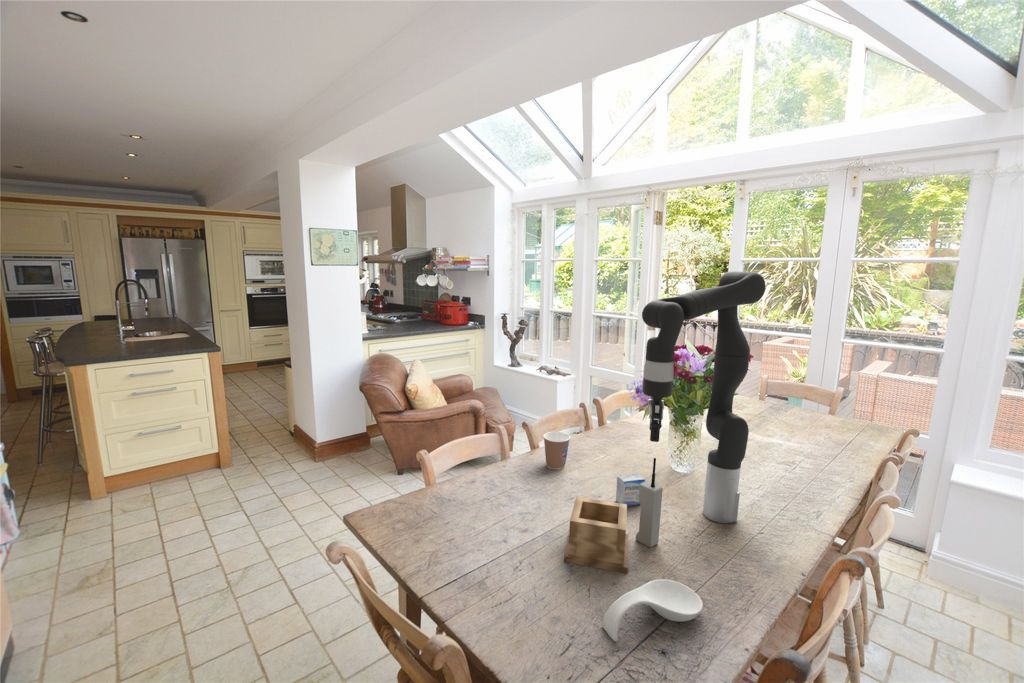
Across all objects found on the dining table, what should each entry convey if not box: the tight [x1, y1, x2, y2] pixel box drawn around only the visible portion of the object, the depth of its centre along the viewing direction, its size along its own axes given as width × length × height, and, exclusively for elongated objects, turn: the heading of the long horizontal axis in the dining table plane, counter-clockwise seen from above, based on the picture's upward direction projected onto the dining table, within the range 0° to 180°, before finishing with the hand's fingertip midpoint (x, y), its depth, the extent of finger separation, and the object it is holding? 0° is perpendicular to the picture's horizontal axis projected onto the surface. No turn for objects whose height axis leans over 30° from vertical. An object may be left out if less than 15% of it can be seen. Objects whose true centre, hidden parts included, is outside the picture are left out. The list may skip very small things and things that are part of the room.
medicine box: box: [615, 473, 646, 507], centre depth 146 cm, size 8×4×9 cm, turn 105°
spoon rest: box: [601, 578, 704, 642], centre depth 97 cm, size 24×12×7 cm, turn 115°
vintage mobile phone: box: [635, 457, 663, 548], centre depth 124 cm, size 4×5×25 cm
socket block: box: [563, 496, 630, 574], centre depth 121 cm, size 16×15×11 cm
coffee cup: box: [543, 431, 571, 470], centre depth 172 cm, size 10×10×12 cm
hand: (653, 435), depth 121 cm, fingers open, 8 cm apart
